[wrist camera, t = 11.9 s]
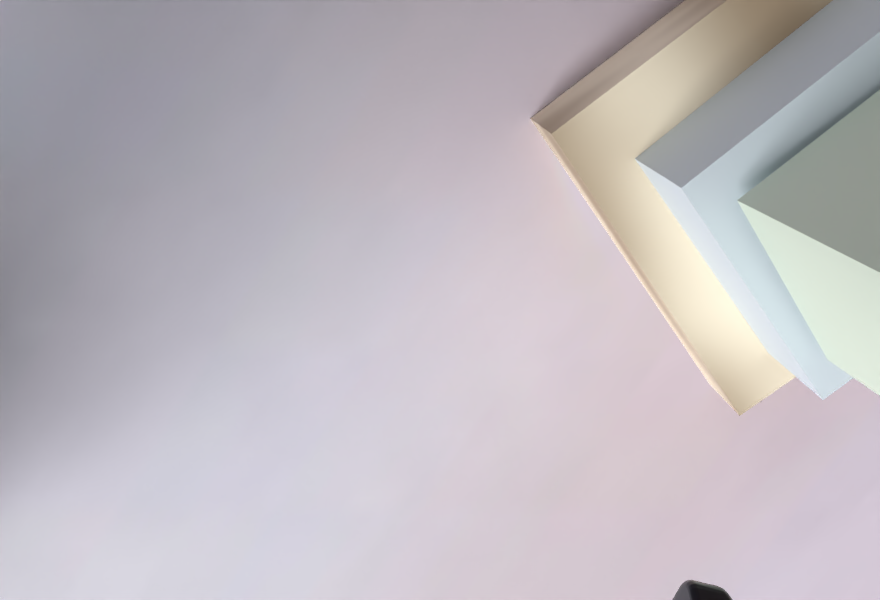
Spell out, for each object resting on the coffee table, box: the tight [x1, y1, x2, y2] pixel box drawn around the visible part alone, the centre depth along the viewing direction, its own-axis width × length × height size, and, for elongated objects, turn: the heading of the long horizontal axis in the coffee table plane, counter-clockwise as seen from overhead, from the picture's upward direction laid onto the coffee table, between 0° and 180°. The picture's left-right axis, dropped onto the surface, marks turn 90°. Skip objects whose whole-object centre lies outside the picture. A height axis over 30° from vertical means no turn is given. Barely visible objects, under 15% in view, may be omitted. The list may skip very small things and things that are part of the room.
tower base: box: [530, 0, 833, 416], centre depth 21 cm, size 10×10×2 cm
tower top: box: [635, 0, 880, 400], centre depth 19 cm, size 7×7×2 cm
